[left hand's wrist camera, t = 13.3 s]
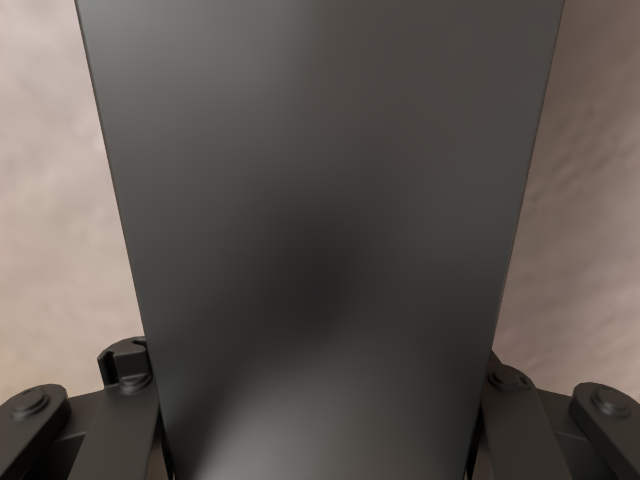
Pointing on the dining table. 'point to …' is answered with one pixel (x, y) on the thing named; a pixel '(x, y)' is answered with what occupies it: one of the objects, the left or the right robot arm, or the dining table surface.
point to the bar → (319, 219)
